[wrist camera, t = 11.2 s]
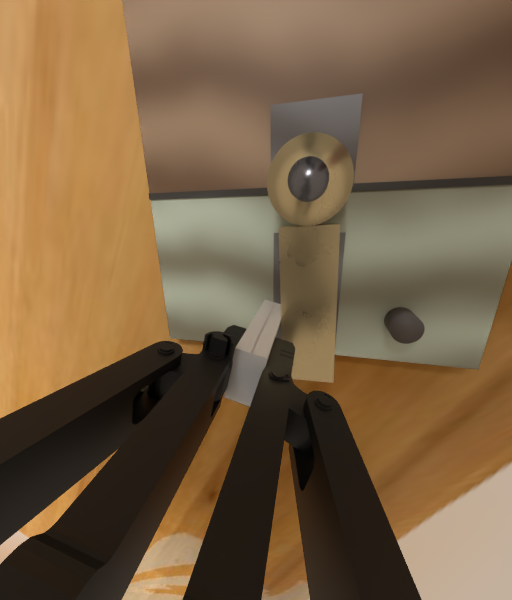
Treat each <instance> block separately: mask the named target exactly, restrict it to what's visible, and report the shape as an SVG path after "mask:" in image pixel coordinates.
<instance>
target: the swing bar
mask: <svg viewBox="0 0 512 600" xmlns="http://www.w3.org/2000/svg"><path fill="white" fill-rule="evenodd" d="M353 180H354V169H353V163H352V160H351V157H350V155H349V153H348V151H347V149H346V148H345V147H344V145H343V144H342V143H341V142H340V141H338V140H337V139H336V138H334V137H332V136H330V135H328V134H324V133H318V132H311V133H305V134H301V135H299V136H296V137H295V138H293V139H291V140H290V141H288V142H287V143H286V144H285V145H283V146H282V147H281V149H280V150H279V151H278V152H277V154H276V155H275V157H274V159H273V161H272V163H271V165H270V168H269V172H268V177H267V191H268V196H269V199H270V202H271V204H272V206H273V208H274V209H275V210H276V212H277V213H278V214H279V215H280V216H281V217H282V218H283V219H285V220H286V221H288V222H290V223H292V224H296V225H291V226H283V227H279V228H278V231H279V264H280V296H281V329H282V339H283V340H286V341H289V342H292V343H293V345H294V347H295V354H294V361H293V367H292V374H291V376H292V379H297V380H308V381H319V382H330V383H333V382H334V358H335V335H336V312H337V288H338V265H339V242H340V224H338V223H327V224H320V223H323V222H325V221H327V220H329V219H330V218H332V217H333V216H334V215H336V214H337V213H338V212H339V211H340V210H341V208H342V207H343V206H344V204H345V203H346V201H347V199H348V198H349V196H350V193H351V190H352V186H353Z"/></svg>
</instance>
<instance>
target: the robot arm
mask: <svg viewBox="0 0 512 600" xmlns="http://www.w3.org/2000/svg"><path fill="white" fill-rule="evenodd" d="M280 323H281V304H278V303H275V302H272V301H268V300H264V302H263V304H262V305H261V307H260V308H259V310H258V312H257V313H256V315H255V317H254V318H253V320H252V321H251V323H250V325H249V326H248V328H247V329H246V328H243V327H239V326H236V325H232V326H230V327H227V329H226V330H225V331H224V332H220V331H212V332H208V333H207V334H205V338H204V343H203V349H202V351H201V353H200V354H186V353H182V351H183V349H182V347H181V346H180V345H179V344H177V343H175V342H171V341H161V342H157V343H155V344H153V345H151V346H148V347H146V348H144V349H142V350H140V351H138V352H136V353H134V354H132V355H130V356H128V357H126V358H124V359H122V360H120V361H118V362H116V363H114V364H111V365H109V366H107V367H105V368H103V369H101V370H99V371H97V372H95V373H93V374H91V375H89V376H87V377H85V378H83V379H81V380H79V381H76V382H74V383H72V384H70V385H68V386H66V387H64V388H62V389H60V390H58V391H56V392H54V393H52V394H50V395H48V396H46V397H44V398H42V399H39V400H37V401H35V402H33V403H31V404H29V405H27V406H25V407H23V408H21V409H19V410H17V411H15V412H13V413H11V414H9V415H7V416H4V417H2V418H0V545H1V544H2V543H3V542H5V541H6V540H7V539H8V538H9V537H11V536H12V535H13V534H14V533H16V532H17V531H18V530H19V529H20V528H22V527H23V526H24V525H25V524H27V523H28V522H29V521H30V520H32V519H33V518H34V517H35V516H36V515H38V514H39V513H40V512H41V511H43V510H44V509H45V508H46V507H47V506H49V505H50V504H51V503H52V502H54V501H55V500H56V499H57V498H58V497H60V496H61V495H62V494H63V493H65V492H66V491H67V490H68V489H69V488H71V487H72V486H73V485H74V484H76V483H77V482H78V481H79V480H80V479H82V478H83V477H84V476H85V475H87V474H88V473H89V472H90V471H91V470H93V469H94V468H95V467H96V466H98V465H99V464H100V463H101V462H103V461H104V460H105V459H106V458H107V457H109V456H110V455H111V454H112V453H114V452H115V451H116V450H117V449H118V448H119V449H118V450H117V451H116V453H115V454H114V455H113V456H112V457H111V459H110V460H109V461H108V462H107V463H106V464H105V466H104V467H103V468H102V469H101V470H100V471H99V473H98V474H97V475H96V476H95V477H94V478H93V480H92V481H91V482H90V483H89V484H88V486H87V487H86V488H85V489H84V490H83V491H82V493H81V494H80V495H79V496H78V497H77V498H76V500H75V501H74V502H73V503H72V504H71V506H70V507H69V508H68V509H67V510H66V511H65V513H64V514H63V515H62V516H61V517H60V518H59V520H58V521H57V522H56V523H55V524H54V525H53V526H52V527H51V528H50V529H49V530H47V531H46V532H45V533H42V534H39V535H36V536H33V537H30V538H29V539H27V540H26V541H25V542H23V543H22V544H21V545H20V546H18V547H17V548H16V549H15V550H14V551H13V552H12V553H11V554H10V555H9V556H8V557H7V558H6V559H5V560H4V561H3V562H2V563H1V564H0V600H122V598H123V596H124V594H125V592H126V590H127V588H128V586H129V584H130V582H131V580H132V578H133V576H134V574H135V572H136V570H137V568H138V566H139V564H140V562H141V560H142V558H143V556H144V555H145V553H146V551H147V549H148V547H149V545H150V543H151V541H152V539H153V537H154V535H155V533H156V531H157V529H158V527H159V525H160V523H161V521H162V519H163V517H164V515H165V513H166V511H167V509H168V507H169V505H170V503H171V501H172V499H173V497H174V495H175V494H176V492H177V490H178V488H179V486H180V484H181V482H182V480H183V478H184V476H185V474H186V472H187V470H188V468H189V466H190V464H191V462H192V460H193V458H194V456H195V454H196V452H197V450H198V448H199V446H200V444H201V442H202V440H203V438H204V436H205V434H206V433H207V431H208V429H209V427H210V425H211V423H212V421H213V419H214V417H215V415H216V413H217V411H218V409H219V407H220V404H221V400H222V396H223V394H224V392H225V395H224V397H225V398H227V399H230V400H233V401H236V402H238V403H241V404H244V405H247V406H249V407H250V408H249V411H248V414H247V417H246V419H245V422H244V425H243V428H242V431H241V434H240V437H239V440H238V443H237V445H236V448H235V451H234V454H233V457H232V460H231V463H230V466H229V468H228V471H227V474H226V477H225V480H224V483H223V486H222V489H221V491H220V494H219V497H218V500H217V503H216V506H215V509H214V512H213V515H212V517H211V520H210V523H209V526H208V529H207V532H206V535H205V538H204V540H203V543H202V546H201V549H200V552H199V555H198V558H197V561H196V564H195V566H194V569H193V572H192V575H191V578H190V581H189V584H188V586H187V589H186V592H185V595H184V598H183V600H261V598H262V591H263V584H264V577H265V570H266V563H267V556H268V549H269V542H270V535H271V528H272V521H273V514H274V507H275V500H276V493H277V486H278V479H279V472H280V465H281V458H282V451H283V444H284V440H285V441H286V442H288V443H289V453H290V460H291V467H292V474H293V481H294V488H295V495H296V502H297V509H298V517H299V524H300V531H301V538H302V545H303V552H304V559H305V566H306V573H307V580H308V587H309V594H310V600H421V597H420V595H419V593H418V590H417V588H416V585H415V583H414V581H413V578H412V576H411V574H410V571H409V569H408V566H407V564H406V562H405V559H404V557H403V555H402V552H401V550H400V547H399V545H398V543H397V540H396V538H395V536H394V533H393V531H392V528H391V526H390V524H389V521H388V519H387V517H386V514H385V512H384V509H383V507H382V505H381V502H380V500H379V497H378V495H377V493H376V490H375V488H374V486H373V483H372V481H371V478H370V476H369V474H368V471H367V469H366V467H365V464H364V462H363V459H362V457H361V455H360V452H359V450H358V448H357V445H356V443H355V440H354V438H353V436H352V433H351V431H350V429H349V426H348V424H347V421H346V419H345V417H344V414H343V412H342V409H341V407H340V405H339V404H338V402H337V401H336V400H335V399H334V398H333V397H332V396H330V395H329V394H327V393H325V392H321V391H312V392H310V393H309V394H306V393H304V392H303V391H301V390H300V389H298V388H297V387H296V386H295V385H294V383H293V382H292V376H291V374H292V367H293V361H294V354H295V347H294V345H293V343H292V342H289V341H286V340H283V339H279V338H276V336H277V333H278V329H279V326H280ZM225 390H226V391H225Z"/></svg>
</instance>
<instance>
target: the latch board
mask: <svg viewBox="0 0 512 600" xmlns="http://www.w3.org/2000/svg"><path fill="white" fill-rule="evenodd" d="M122 2H123V9H124V16H125V23H126V30H127V37H128V44H129V51H130V59H131V66H132V73H133V80H134V87H135V94H136V101H137V108H138V115H139V122H140V129H141V136H142V143H143V150H144V157H145V164H146V171H147V178H148V185H149V192H150V193H149V199H150V200H151V206H152V214H153V221H154V228H155V235H156V242H157V249H158V256H159V263H160V270H161V277H162V284H163V291H164V298H165V305H166V312H167V319H168V326H169V333H170V338H174V339H184V340H194V341H204V338H205V334H207V333H208V332H212V331H220V332H224V331H225V330H226V329H227V327H230V326H232V325H236V326H239V327H243V328H246V329H247V328H248V326H249V325H250V323H251V321H252V320H253V318H254V317H255V315H256V313H257V312H258V310H259V308H260V307H261V305H262V304H263V302H264V300H268V301H272V302H275V303H278V304H281V296H280V264H279V231H278V228H279V227H283V226H291V225H296V224H292V223H290V222H288V221H286V220H285V219H283V218H282V217H281V216H280V215H279V214H278V213H277V212H276V210H275V209H274V208H273V206H272V204H271V202H270V199H269V196H268V191H267V177H268V172H269V168H270V165H271V163H272V161H273V159H274V157H275V155H276V154H277V152H278V151H279V150H280V149H281V147H282V146H283V145H285V144H286V143H287V142H288V141H290V140H291V139H293V138H295V137H296V136H299V135H301V134H305V133H311V132H318V133H324V134H328V135H330V136H332V137H334V138H336V139H337V140H338V141H340V142H341V143H342V144H343V145H344V147H345V148H346V149H347V151H348V153H349V155H350V157H351V160H352V163H353V169H354V180H353V186H352V190H351V193H350V196H349V198H348V199H347V201H346V203H345V204H344V206H343V207H342V208H341V210H340V211H339V212H338V213H337V214H336V215H334V216H333V217H332V218H330V219H329V220H327V221H325V222H323V223H320V224H327V223H338V224H340V242H339V265H338V288H337V312H336V335H335V355H341V356H350V357H360V358H370V359H380V360H389V361H399V362H409V363H419V364H429V365H438V366H448V367H458V368H468V369H479V366H480V362H481V359H482V356H483V353H484V349H485V346H486V343H487V340H488V336H489V333H490V330H491V327H492V323H493V320H494V317H495V314H496V310H497V307H498V304H499V301H500V297H501V294H502V291H503V288H504V284H505V281H506V278H507V275H508V271H509V268H510V265H511V262H512V0H122ZM276 338H279V339H282V329H281V323H280V326H279V329H278V333H277V336H276Z"/></svg>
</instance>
